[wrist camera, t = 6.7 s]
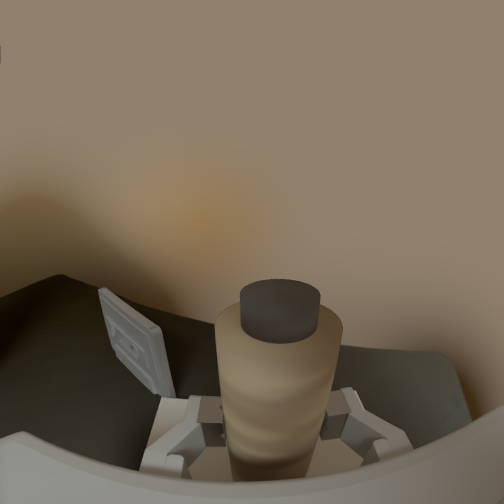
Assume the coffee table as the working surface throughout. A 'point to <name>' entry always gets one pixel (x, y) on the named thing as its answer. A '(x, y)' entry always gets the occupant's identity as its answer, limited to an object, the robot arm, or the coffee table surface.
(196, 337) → the coffee table surface
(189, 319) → the coffee table surface
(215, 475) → the plate
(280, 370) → the wooden leg
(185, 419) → the robot arm
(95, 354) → the coffee table surface
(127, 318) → the cassette
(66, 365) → the coffee table surface
